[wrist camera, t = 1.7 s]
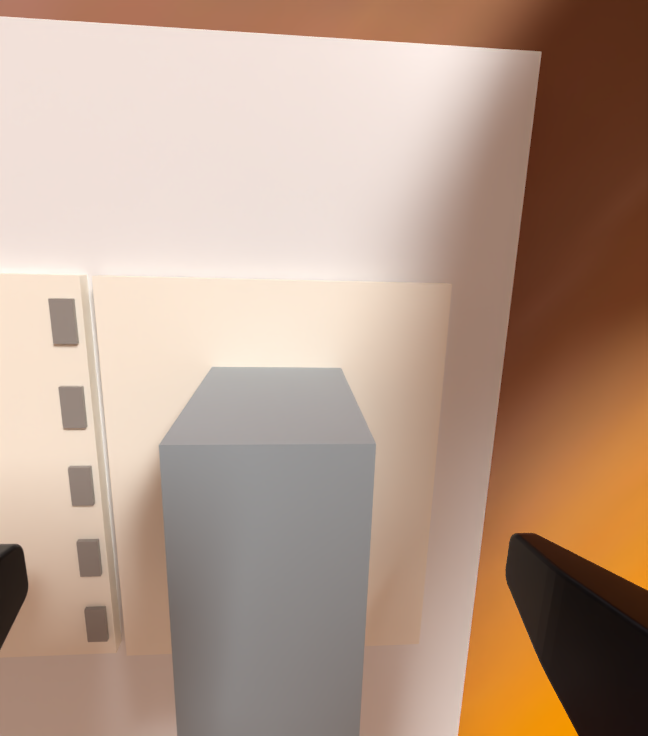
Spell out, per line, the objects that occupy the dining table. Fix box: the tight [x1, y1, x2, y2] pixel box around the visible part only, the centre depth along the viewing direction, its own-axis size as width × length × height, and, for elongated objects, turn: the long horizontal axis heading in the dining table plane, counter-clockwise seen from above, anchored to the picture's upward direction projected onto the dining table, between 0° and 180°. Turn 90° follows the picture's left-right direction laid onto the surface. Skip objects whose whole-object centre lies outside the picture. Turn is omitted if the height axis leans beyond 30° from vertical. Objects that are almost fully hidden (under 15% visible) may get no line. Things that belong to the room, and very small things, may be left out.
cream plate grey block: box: [92, 275, 452, 736], centre depth 9 cm, size 8×10×5 cm
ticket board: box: [0, 17, 542, 736], centre depth 11 cm, size 22×20×3 cm
